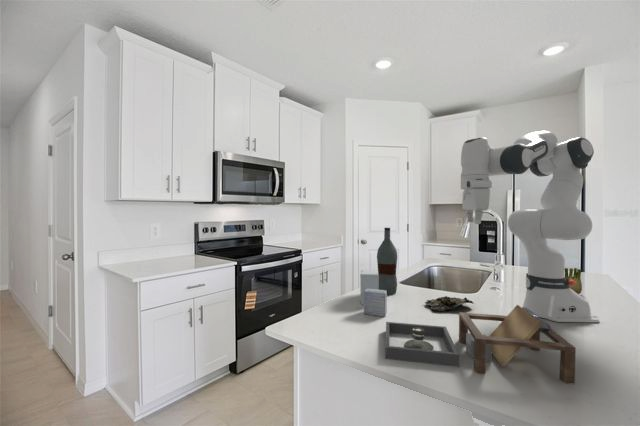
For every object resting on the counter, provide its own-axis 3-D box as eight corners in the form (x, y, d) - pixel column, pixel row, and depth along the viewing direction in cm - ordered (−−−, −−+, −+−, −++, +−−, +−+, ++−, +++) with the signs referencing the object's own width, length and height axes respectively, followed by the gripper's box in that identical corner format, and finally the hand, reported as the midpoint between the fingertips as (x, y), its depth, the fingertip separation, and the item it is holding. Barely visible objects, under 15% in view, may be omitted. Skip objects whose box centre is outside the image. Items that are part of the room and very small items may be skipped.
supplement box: (378, 300, 130) (378, 270, 130) (378, 305, 123) (378, 274, 122) (360, 299, 131) (361, 269, 131) (360, 304, 124) (360, 273, 124)
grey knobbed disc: (450, 352, 83) (450, 334, 83) (411, 359, 80) (411, 340, 80) (423, 334, 95) (423, 319, 95) (388, 339, 91) (388, 323, 91)
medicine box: (386, 313, 114) (387, 290, 114) (385, 317, 110) (385, 293, 110) (365, 310, 117) (366, 288, 117) (363, 314, 113) (363, 291, 113)
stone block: (485, 334, 84) (466, 332, 85) (491, 342, 79) (470, 340, 80) (485, 352, 84) (466, 350, 85) (491, 361, 79) (470, 359, 80)
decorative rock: (439, 305, 112) (415, 291, 126) (439, 321, 112) (415, 305, 127) (481, 297, 117) (454, 285, 131) (481, 313, 118) (454, 298, 132)
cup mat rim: (445, 336, 94) (445, 326, 94) (458, 366, 77) (458, 354, 76) (386, 330, 98) (386, 321, 98) (385, 358, 81) (385, 347, 80)
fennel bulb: (562, 292, 141) (563, 267, 141) (568, 291, 143) (569, 266, 143) (577, 296, 136) (578, 269, 135) (583, 294, 138) (584, 268, 137)
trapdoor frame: (536, 347, 87) (536, 318, 87) (574, 384, 69) (575, 347, 69) (458, 339, 92) (459, 312, 91) (475, 372, 74) (476, 338, 73)
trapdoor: (530, 310, 85) (519, 302, 85) (555, 328, 72) (542, 319, 73) (494, 349, 87) (484, 341, 88) (513, 374, 74) (500, 364, 75)
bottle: (392, 289, 146) (392, 226, 145) (400, 294, 137) (401, 228, 136) (373, 290, 145) (374, 227, 144) (380, 295, 136) (381, 228, 135)
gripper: (458, 185, 119) (457, 221, 119) (472, 182, 99) (471, 224, 99) (475, 185, 117) (475, 221, 118) (493, 181, 97) (492, 225, 98)
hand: (473, 223), depth 108 cm, fingers open, 8 cm apart
